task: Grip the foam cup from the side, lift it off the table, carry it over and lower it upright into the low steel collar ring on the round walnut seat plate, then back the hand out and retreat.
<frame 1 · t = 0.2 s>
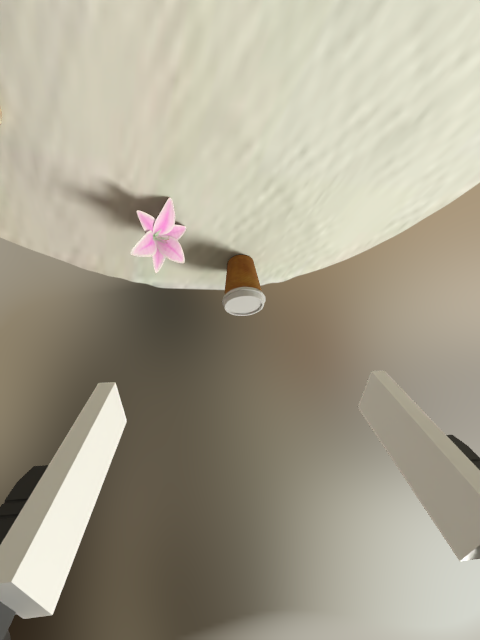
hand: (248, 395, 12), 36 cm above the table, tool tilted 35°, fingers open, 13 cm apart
disposable coffee cup: (240, 262, 57), on the table
lily: (163, 220, 45), on the table
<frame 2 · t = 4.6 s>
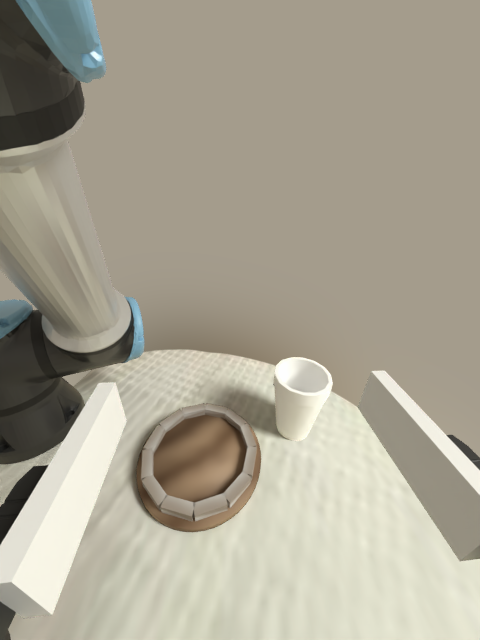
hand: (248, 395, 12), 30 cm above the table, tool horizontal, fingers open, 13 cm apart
foam cup: (292, 426, 46), on the table
seat plate: (201, 456, 40), on the table
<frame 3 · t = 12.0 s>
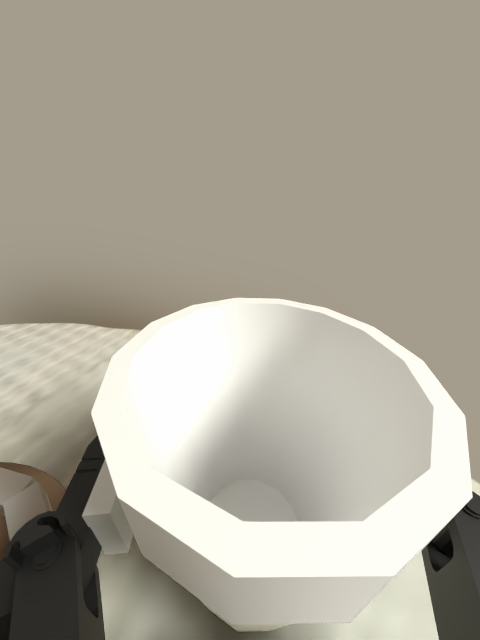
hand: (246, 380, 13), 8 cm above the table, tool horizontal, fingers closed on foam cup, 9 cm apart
foam cup: (249, 543, 13), on the table, touching gripper
when the fingers open (10 cm above the table, at t = 18.3 s): foam cup drops 1 cm, resting on seat plate.
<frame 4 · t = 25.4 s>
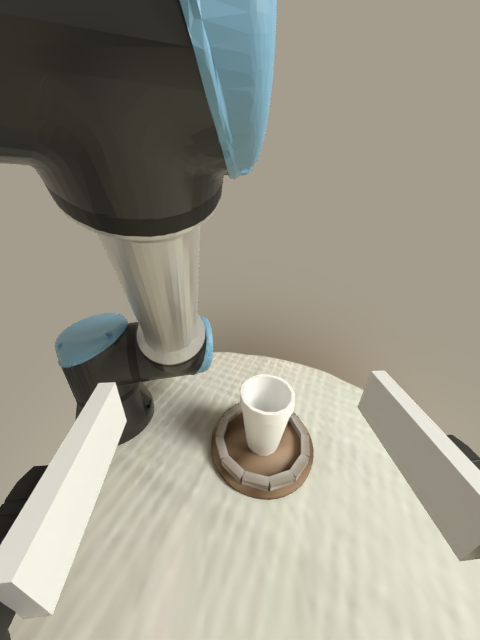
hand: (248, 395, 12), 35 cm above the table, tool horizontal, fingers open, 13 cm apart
foam cup: (262, 440, 47), point 1 cm above the table, touching seat plate
seat plate: (261, 442, 48), on the table
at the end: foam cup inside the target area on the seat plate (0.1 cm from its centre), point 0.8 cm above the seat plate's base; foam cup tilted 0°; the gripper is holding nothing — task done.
